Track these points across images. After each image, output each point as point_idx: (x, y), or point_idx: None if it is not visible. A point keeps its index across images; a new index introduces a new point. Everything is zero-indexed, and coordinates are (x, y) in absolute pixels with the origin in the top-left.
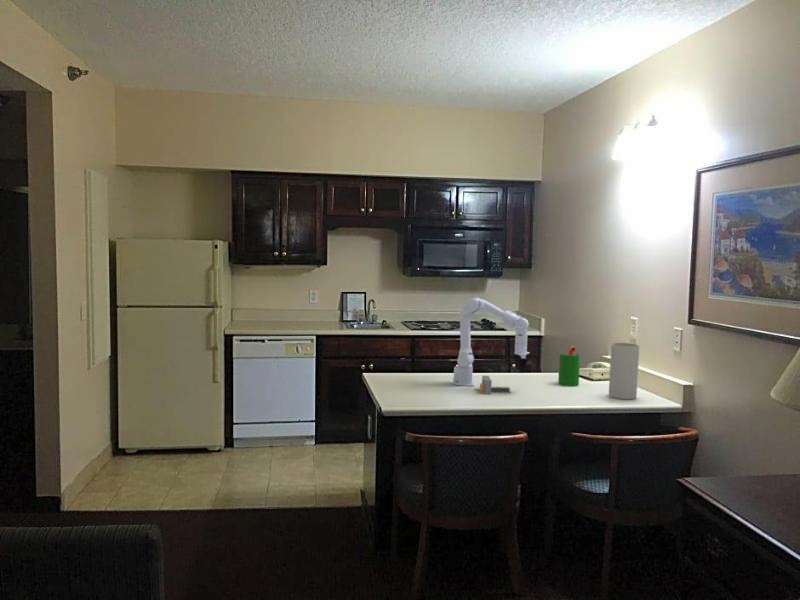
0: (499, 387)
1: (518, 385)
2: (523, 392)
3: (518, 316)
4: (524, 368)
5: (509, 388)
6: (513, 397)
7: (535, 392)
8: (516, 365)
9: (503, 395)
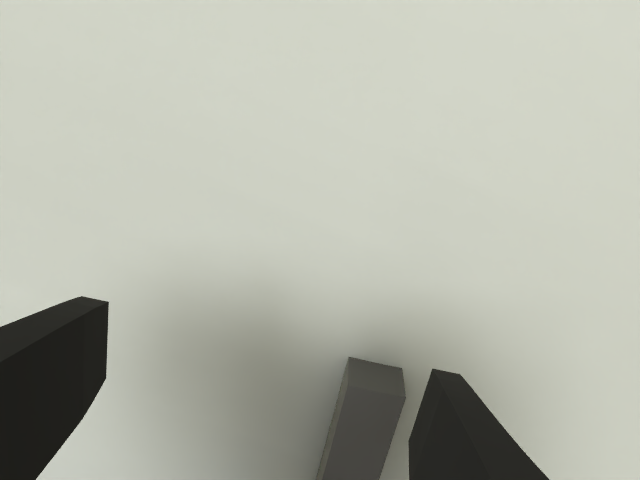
0: (340, 474)
1: (37, 129)
2: (424, 221)
3: None
4: (507, 440)
5: (402, 399)
6: (625, 413)
7: (452, 61)
8: (55, 444)
9: None
